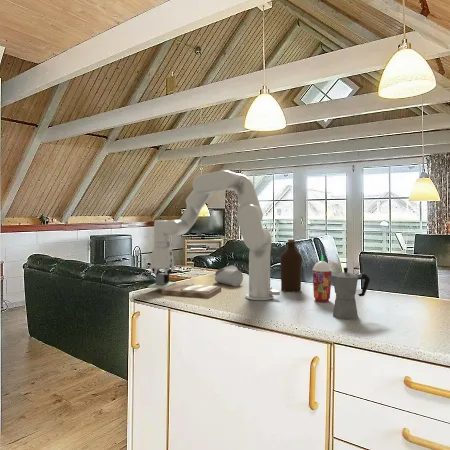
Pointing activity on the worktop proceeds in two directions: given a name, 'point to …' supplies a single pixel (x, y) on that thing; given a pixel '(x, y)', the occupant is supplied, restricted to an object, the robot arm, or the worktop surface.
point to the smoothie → (321, 281)
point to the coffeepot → (347, 293)
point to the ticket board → (192, 290)
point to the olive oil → (291, 268)
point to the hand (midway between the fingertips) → (162, 282)
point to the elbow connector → (229, 276)
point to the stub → (161, 282)
